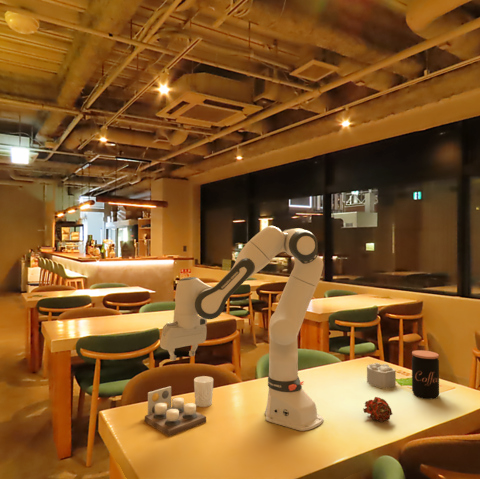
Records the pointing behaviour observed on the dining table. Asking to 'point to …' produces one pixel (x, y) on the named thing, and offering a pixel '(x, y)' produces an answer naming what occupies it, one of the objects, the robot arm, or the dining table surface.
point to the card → (159, 398)
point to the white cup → (203, 391)
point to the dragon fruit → (378, 409)
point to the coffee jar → (425, 374)
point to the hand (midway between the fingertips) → (182, 357)
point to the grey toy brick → (381, 375)
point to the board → (175, 422)
